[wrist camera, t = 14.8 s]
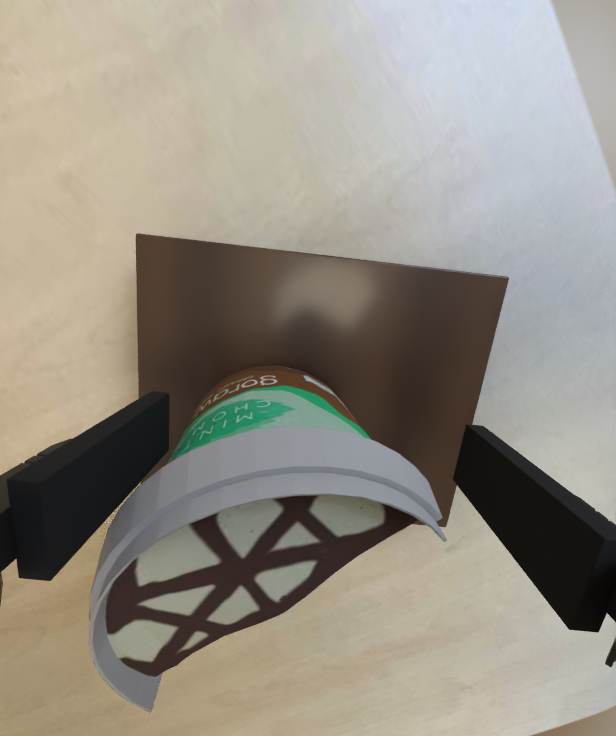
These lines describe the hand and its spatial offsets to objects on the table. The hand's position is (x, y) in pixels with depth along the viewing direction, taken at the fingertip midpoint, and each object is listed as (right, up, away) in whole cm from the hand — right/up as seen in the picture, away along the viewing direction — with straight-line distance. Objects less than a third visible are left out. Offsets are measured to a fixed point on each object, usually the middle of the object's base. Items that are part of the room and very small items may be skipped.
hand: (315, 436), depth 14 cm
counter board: (0, +2, +7) cm, 8 cm away
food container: (-4, +1, +4) cm, 6 cm away
